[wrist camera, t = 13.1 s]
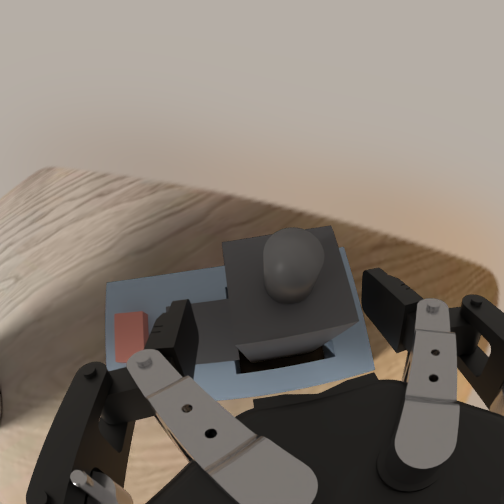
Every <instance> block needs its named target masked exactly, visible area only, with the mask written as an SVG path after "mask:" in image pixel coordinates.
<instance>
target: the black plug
mask: <svg viewBox="0 0 504 504" xmlns="http://www.w3.org/2000/svg"><path fill="white" fill-rule="evenodd" d="M222 248H223V257H224V265H225V274H226V282H227V290H228V297H229V305H230V313H231V320H232V327H233V334H234V341H235V346H236V347H237V348H238V349H239V350H240V351H241V352H242V353H243V354H244V355H245V357H246V358H247V359H248V360H249V361H250V362H251V363H255V362H261V361H268V360H273V359H279V358H285V357H290V356H295V355H300V354H305V353H310V352H312V351H314V350H316V349H317V348H319V347H321V346H322V345H324V344H325V343H327V342H329V341H330V340H332V339H333V338H335V337H336V336H338V335H339V334H341V333H342V332H344V331H345V330H347V329H348V328H350V327H351V326H353V325H354V324H356V323H357V322H359V318H358V314H357V310H356V306H355V302H354V299H353V295H352V291H351V288H350V284H349V281H348V277H347V274H346V270H345V267H344V264H343V260H342V257H341V254H340V251H339V248H338V244H337V241H336V238H335V235H334V232H333V229H332V226H325V227H318V228H311V229H305V230H304V229H300V228H285V229H281V230H279V231H277V232H275V233H274V234H272V235H265V236H259V237H252V238H246V239H240V240H234V241H227V242H222Z"/></svg>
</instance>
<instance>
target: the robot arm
mask: <svg viewBox="0 0 504 504" xmlns="http://www.w3.org/2000/svg"><path fill="white" fill-rule="evenodd" d="M362 308H363V310H364V312H365V314H366V315H367V316H368V317H369V319H370V320H371V321H372V322H373V324H374V325H375V326H376V327H377V329H378V330H379V331H380V332H381V334H382V335H383V336H384V338H385V339H386V340H387V341H388V343H389V344H390V345H391V347H392V348H393V349H394V350H395V352H396V353H399V352H402V351H404V350H407V351H408V353H407V357H406V362H405V367H404V372H403V377H402V381H398V380H378V378H377V376H376V375H375V373H370V374H367V375H364V376H360V377H357V378H354V379H350V380H347V381H345V382H343V383H341V384H339V385H337V386H334V387H332V388H330V389H328V390H326V391H324V392H322V393H319V394H284V395H278V396H272V397H266V398H259V399H253V403H254V408H253V409H250V410H248V411H245V412H243V413H241V414H239V415H238V416H236V417H234V416H233V415H231V414H230V413H229V412H228V411H227V410H226V409H224V408H223V407H222V406H221V405H220V404H219V403H218V402H217V401H215V400H214V399H213V398H212V397H211V396H210V395H209V394H208V393H207V392H206V391H205V390H203V389H202V388H201V387H200V386H199V385H198V384H197V383H196V382H195V381H194V380H193V379H194V372H195V365H196V358H197V351H198V345H199V332H198V328H197V324H196V321H195V317H194V313H193V310H192V306H191V303H190V300H189V299H185V300H177V301H172V303H171V306H170V308H169V311H168V312H166V313H162V314H161V315H160V316H159V317H158V318H157V319H156V321H155V323H154V325H153V328H152V330H151V333H150V335H149V337H148V340H147V342H146V344H145V347H144V349H143V350H141V351H139V352H136V353H135V354H133V355H132V356H131V357H130V358H129V359H128V361H127V364H126V367H124V368H120V369H116V370H112V371H108V369H107V367H106V365H105V364H103V363H101V362H91V363H88V364H86V365H84V366H83V367H81V368H80V369H79V370H78V371H77V373H76V375H75V377H74V379H73V381H72V383H71V385H70V387H69V389H68V391H67V393H66V395H65V397H64V399H63V401H62V403H61V405H60V407H59V410H58V412H57V414H56V416H55V418H54V421H53V423H52V425H51V428H50V430H49V432H48V435H47V437H46V440H45V442H44V445H43V447H42V450H41V452H40V455H39V458H38V460H37V463H36V466H35V469H34V472H33V475H32V478H31V481H30V484H29V487H28V490H27V494H26V503H27V504H133V500H132V497H131V496H130V494H129V493H128V492H127V491H126V490H124V489H123V488H124V481H125V475H126V469H127V463H128V457H129V451H130V446H131V441H132V435H133V430H134V426H135V421H136V420H139V419H143V418H147V417H151V416H154V417H155V418H156V420H157V421H158V423H159V424H160V425H161V427H162V428H163V429H164V431H165V432H166V433H167V435H168V436H169V437H170V439H171V440H172V441H173V443H174V444H175V445H176V446H177V448H178V449H179V450H180V452H181V453H182V454H183V456H184V457H185V458H186V459H187V461H188V462H189V463H188V464H187V465H186V466H185V467H184V468H183V469H182V470H181V471H180V472H179V473H178V474H177V475H176V476H175V477H174V478H173V479H172V480H171V481H170V482H169V483H168V484H167V485H165V486H164V487H163V488H162V489H161V490H160V491H159V492H158V493H157V494H156V495H155V496H153V497H152V498H151V499H150V500H149V501H148V502H147V503H145V504H504V313H503V312H502V311H501V310H499V309H498V308H497V307H496V306H494V305H493V304H492V303H491V302H489V301H488V300H487V299H485V298H484V297H482V296H479V295H467V296H465V297H464V298H463V300H462V304H461V307H456V308H448V306H447V304H446V303H445V302H443V301H441V300H438V299H434V298H427V299H423V298H422V297H421V296H419V295H418V294H417V293H416V292H415V291H413V290H412V289H410V287H408V286H407V285H405V283H403V282H402V281H401V280H400V279H398V278H395V277H393V276H390V275H388V274H387V273H385V272H384V271H383V270H382V269H380V268H374V269H369V270H365V271H364V272H363V276H362ZM481 335H482V336H483V337H484V338H485V339H486V340H487V341H488V342H489V343H490V346H491V354H490V356H489V357H488V356H487V355H486V354H485V353H484V352H483V351H482V350H481V349H480V348H479V347H478V346H477V345H478V342H479V339H480V336H481ZM457 368H458V369H459V370H460V372H461V373H462V374H463V375H464V377H465V378H466V379H467V381H468V382H469V383H470V384H471V386H472V387H473V388H474V390H475V391H476V392H477V394H478V395H479V396H480V398H481V399H482V400H483V402H484V403H485V405H486V406H487V407H488V409H489V410H490V411H488V410H485V409H481V408H478V407H475V406H471V405H469V404H466V403H463V402H460V401H457V399H456V398H457ZM100 416H101V417H100ZM0 417H1V396H0ZM99 419H100V420H99Z"/></svg>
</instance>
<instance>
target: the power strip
mask: <svg viewBox="0 0 504 504" xmlns="http://www.w3.org/2000/svg"><path fill="white" fill-rule="evenodd" d="M339 251H340V254H341V257H342V260H343V264H344V267H345V270H346V274H347V277H348V281H349V284H350V288H351V291H352V295H353V299H354V302H355V306H356V310H357V314H358V318H359V322H357V323H356V324H354V325H353V326H351V327H350V328H348V329H347V330H345V331H344V332H342V333H341V334H339V335H338V336H336V337H335V338H333V339H332V340H330V341H329V342H327V343H325V344H324V345H322V348H323V353H324V358H325V359H322V360H318V361H313V362H309V363H304V364H299V365H293V366H288V367H282V368H277V369H271V370H264V371H258V372H251V373H243V374H241V370H240V363H239V360H240V358H239V351H238V348H237V347H236V346H235V341H234V334H233V327H232V320H231V313H230V305H229V297H228V290H227V282H226V274H225V266H219V267H212V268H205V269H198V270H192V271H185V272H178V273H171V274H164V275H158V276H151V277H144V278H137V279H130V280H122V281H115V282H108V283H107V287H106V313H105V340H106V366H107V369H108V371H112V370H116V369H120V368H124V367H126V364H127V361H128V359H129V358H130V357H131V356H132V355H133V354H135V353H136V352H139V351H141V350H143V349H144V347H145V344H146V342H147V340H148V337H149V335H150V333H151V330H152V328H153V325H154V323H155V321H156V319H157V318H158V317H159V316H160V315H161V314H162V313H166V312H168V311H169V308H170V306H171V303H172V301H177V300H185V299H189V300H190V303H191V306H192V310H193V313H194V317H195V321H196V324H197V328H198V332H199V345H198V351H197V358H196V365H195V372H194V379H193V380H194V381H195V382H196V383H197V384H198V385H199V386H200V387H201V388H202V389H203V390H205V391H206V392H207V393H208V394H209V395H210V396H211V397H212V398H213V399H214V400H215V401H218V400H229V399H238V398H247V397H255V396H262V395H268V394H275V393H281V392H286V391H292V390H297V389H302V388H307V387H312V386H316V385H321V384H325V383H329V382H333V381H337V380H341V379H345V378H348V377H352V376H356V375H359V374H363V373H366V372H369V371H373V370H375V367H374V362H373V357H372V352H371V347H370V343H369V338H368V334H367V330H366V325H365V321H364V317H363V313H362V309H361V305H360V301H359V298H358V294H357V290H356V287H355V283H354V279H353V276H352V273H351V269H350V266H349V262H348V259H347V256H346V253H345V249H344V247H340V248H339Z"/></svg>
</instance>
